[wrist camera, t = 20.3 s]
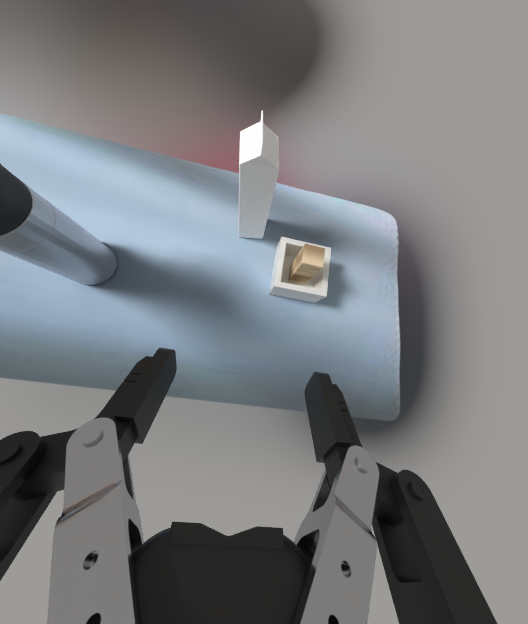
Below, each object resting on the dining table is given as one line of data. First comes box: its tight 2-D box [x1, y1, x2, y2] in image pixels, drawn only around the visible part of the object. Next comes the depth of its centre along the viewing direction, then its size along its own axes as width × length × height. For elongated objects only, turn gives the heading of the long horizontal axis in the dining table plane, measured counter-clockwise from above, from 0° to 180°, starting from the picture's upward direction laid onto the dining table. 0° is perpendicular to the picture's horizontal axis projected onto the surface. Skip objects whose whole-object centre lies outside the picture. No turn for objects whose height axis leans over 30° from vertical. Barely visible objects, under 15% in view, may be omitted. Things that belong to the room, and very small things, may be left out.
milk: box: [239, 110, 279, 239], centre depth 36 cm, size 6×6×22 cm
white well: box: [269, 237, 331, 303], centre depth 43 cm, size 11×11×6 cm
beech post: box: [288, 243, 325, 285], centre depth 40 cm, size 4×4×10 cm
